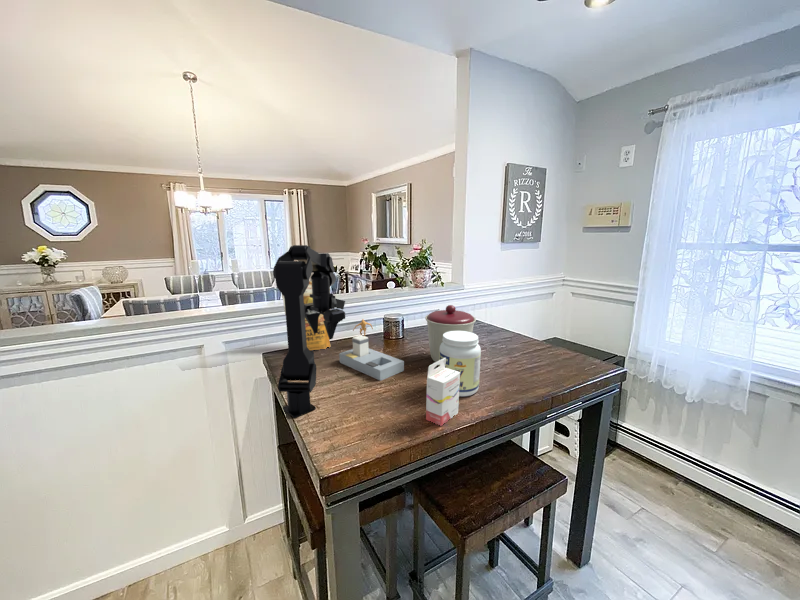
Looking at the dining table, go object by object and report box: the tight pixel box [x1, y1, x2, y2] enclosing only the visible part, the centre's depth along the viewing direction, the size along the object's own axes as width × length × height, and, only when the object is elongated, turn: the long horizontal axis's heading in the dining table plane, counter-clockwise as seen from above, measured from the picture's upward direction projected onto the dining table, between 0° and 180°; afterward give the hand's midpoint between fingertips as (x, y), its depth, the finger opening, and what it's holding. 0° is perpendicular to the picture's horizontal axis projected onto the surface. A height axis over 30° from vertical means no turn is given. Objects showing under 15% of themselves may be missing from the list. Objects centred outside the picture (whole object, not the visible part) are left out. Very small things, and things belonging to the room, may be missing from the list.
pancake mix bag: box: [281, 280, 332, 351], centre depth 132 cm, size 7×19×28 cm, turn 110°
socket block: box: [338, 347, 405, 382], centre depth 117 cm, size 22×11×4 cm, turn 46°
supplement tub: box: [438, 331, 482, 397], centre depth 100 cm, size 12×12×17 cm
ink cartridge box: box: [425, 358, 460, 427], centre depth 84 cm, size 9×5×15 cm, turn 141°
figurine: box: [352, 318, 374, 337], centre depth 137 cm, size 8×6×12 cm
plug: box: [351, 334, 370, 357], centre depth 120 cm, size 4×4×9 cm
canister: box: [424, 304, 477, 363], centre depth 121 cm, size 18×18×21 cm
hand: (323, 336), depth 113 cm, fingers open, 9 cm apart
